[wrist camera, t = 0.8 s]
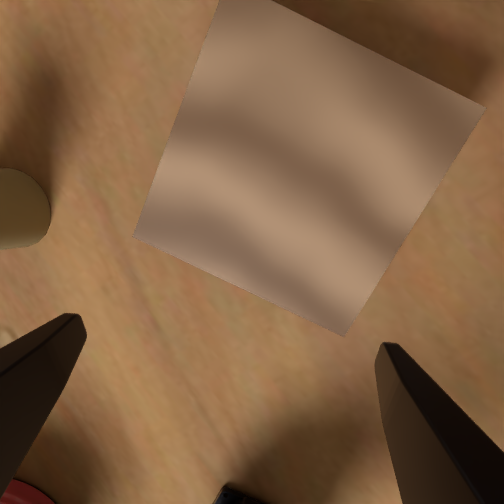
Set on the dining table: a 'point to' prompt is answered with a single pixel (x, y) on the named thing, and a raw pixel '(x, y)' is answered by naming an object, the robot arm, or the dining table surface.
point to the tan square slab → (299, 161)
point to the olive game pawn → (21, 210)
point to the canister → (23, 494)
